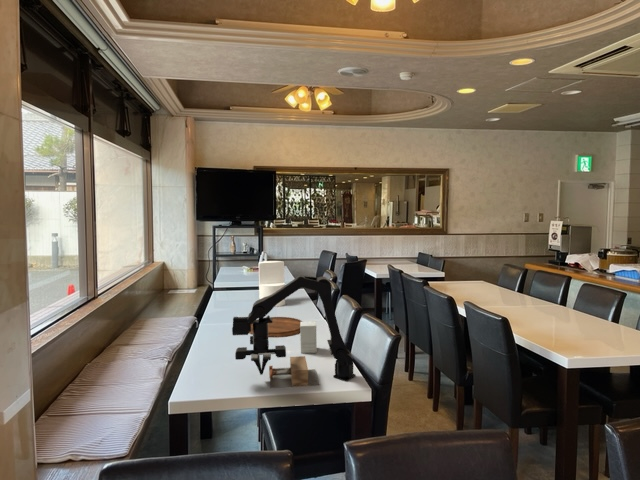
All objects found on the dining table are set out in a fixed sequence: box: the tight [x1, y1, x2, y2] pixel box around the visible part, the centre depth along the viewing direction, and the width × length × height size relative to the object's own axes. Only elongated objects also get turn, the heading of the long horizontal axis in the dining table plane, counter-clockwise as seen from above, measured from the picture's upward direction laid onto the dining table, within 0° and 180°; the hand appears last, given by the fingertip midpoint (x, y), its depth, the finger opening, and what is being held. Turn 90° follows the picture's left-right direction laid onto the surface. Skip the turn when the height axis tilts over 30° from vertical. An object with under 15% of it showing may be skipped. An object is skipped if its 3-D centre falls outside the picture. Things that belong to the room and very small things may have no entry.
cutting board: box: [249, 316, 304, 338], centre depth 227 cm, size 32×32×2 cm
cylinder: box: [258, 260, 286, 308], centre depth 281 cm, size 17×17×28 cm
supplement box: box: [299, 321, 318, 354], centre depth 192 cm, size 7×7×13 cm
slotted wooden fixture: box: [269, 355, 320, 389], centre depth 161 cm, size 18×14×6 cm
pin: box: [268, 365, 291, 379], centre depth 160 cm, size 10×5×5 cm, turn 97°
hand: (261, 374), depth 160 cm, fingers closed
